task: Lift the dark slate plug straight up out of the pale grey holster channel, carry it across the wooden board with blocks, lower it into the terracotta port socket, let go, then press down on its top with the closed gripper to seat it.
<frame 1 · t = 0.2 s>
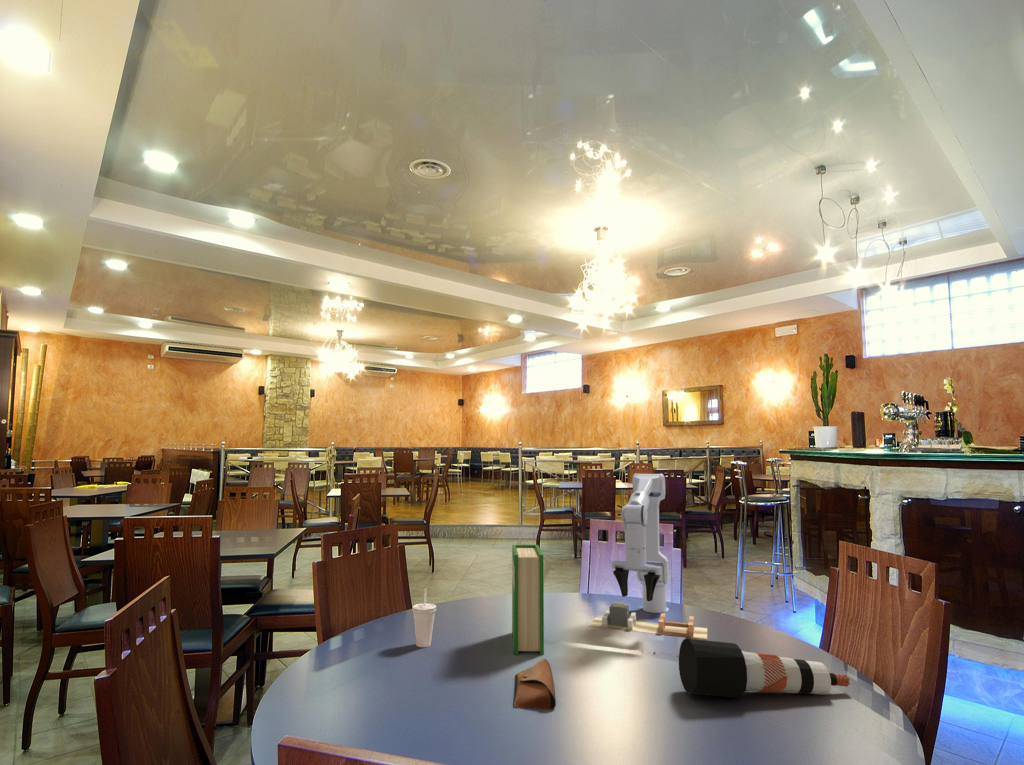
hand: (637, 598, 151), 10 cm above the table, tool pointing down, fingers open, 7 cm apart
sunglasses case: (533, 693, 113), on the table
plug: (619, 624, 157), point 1 cm above the table, touching wooden board with blocks
striped tapered cone: (768, 695, 112), on the table
hardback book: (527, 643, 143), on the table
smoothie: (423, 645, 141), on the table
wooden board with blocks: (647, 630, 154), on the table
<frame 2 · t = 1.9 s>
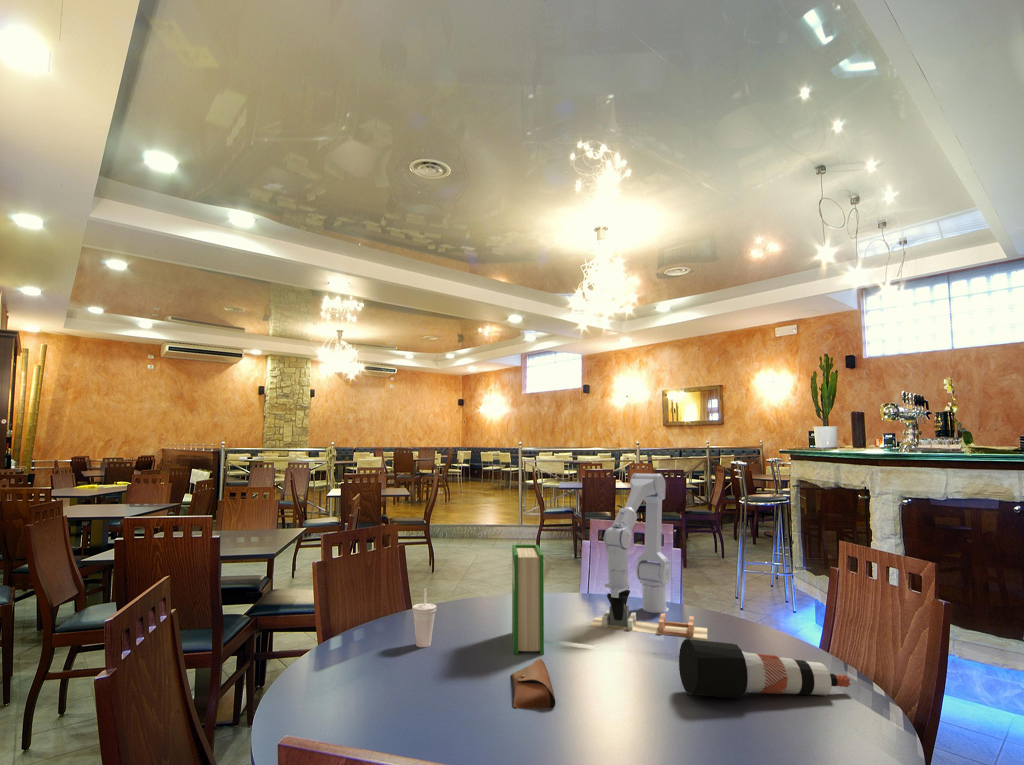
hand: (619, 618, 157), 3 cm above the table, tool pointing down, fingers closed on plug, 4 cm apart
plug: (619, 624, 157), point 1 cm above the table, touching gripper, wooden board with blocks
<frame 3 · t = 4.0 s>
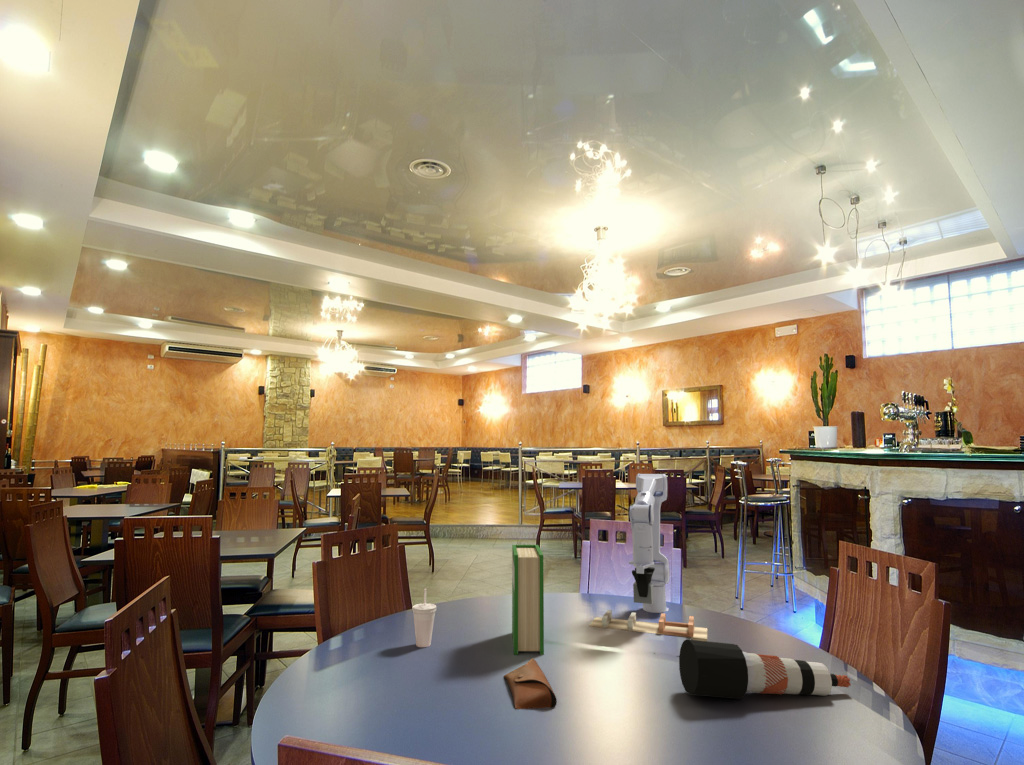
hand: (644, 595, 156), 10 cm above the table, tool pointing down, fingers closed on plug, 4 cm apart
plug: (643, 601, 155), point 8 cm above the table, touching gripper
when the fingers open (4 cm above the table, at t = 6.0 s): plug stays where it is, resting on wooden board with blocks.
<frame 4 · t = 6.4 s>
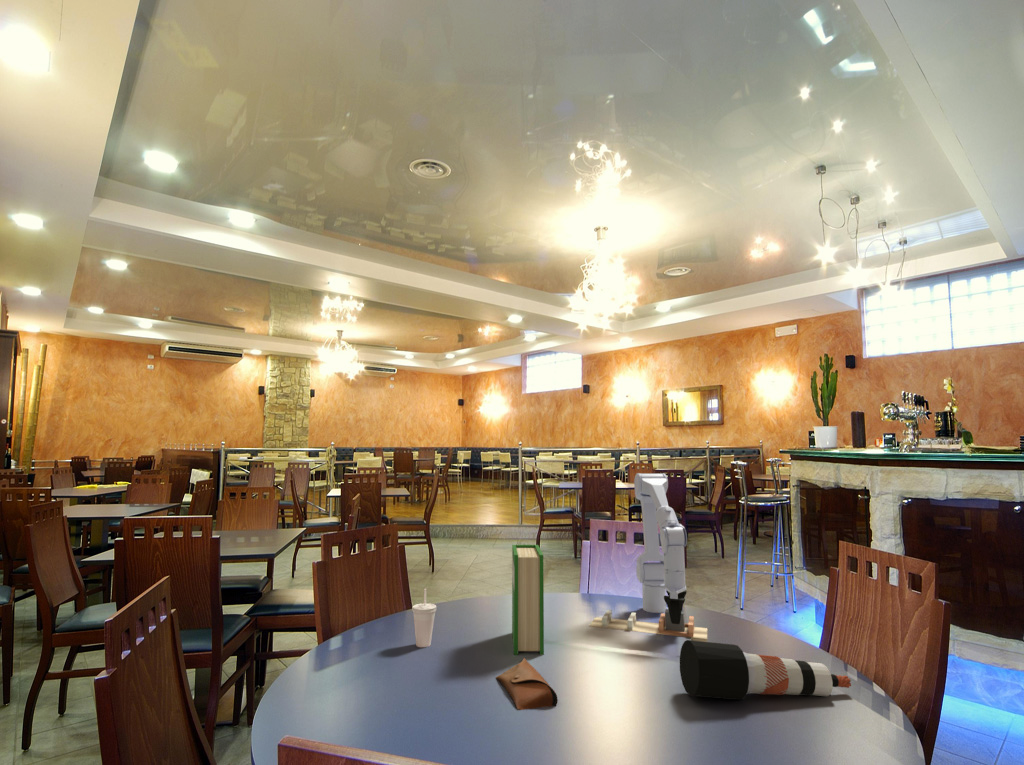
hand: (676, 620, 152), 4 cm above the table, tool pointing down, fingers open, 7 cm apart
plug: (675, 630, 151), point 1 cm above the table, touching wooden board with blocks
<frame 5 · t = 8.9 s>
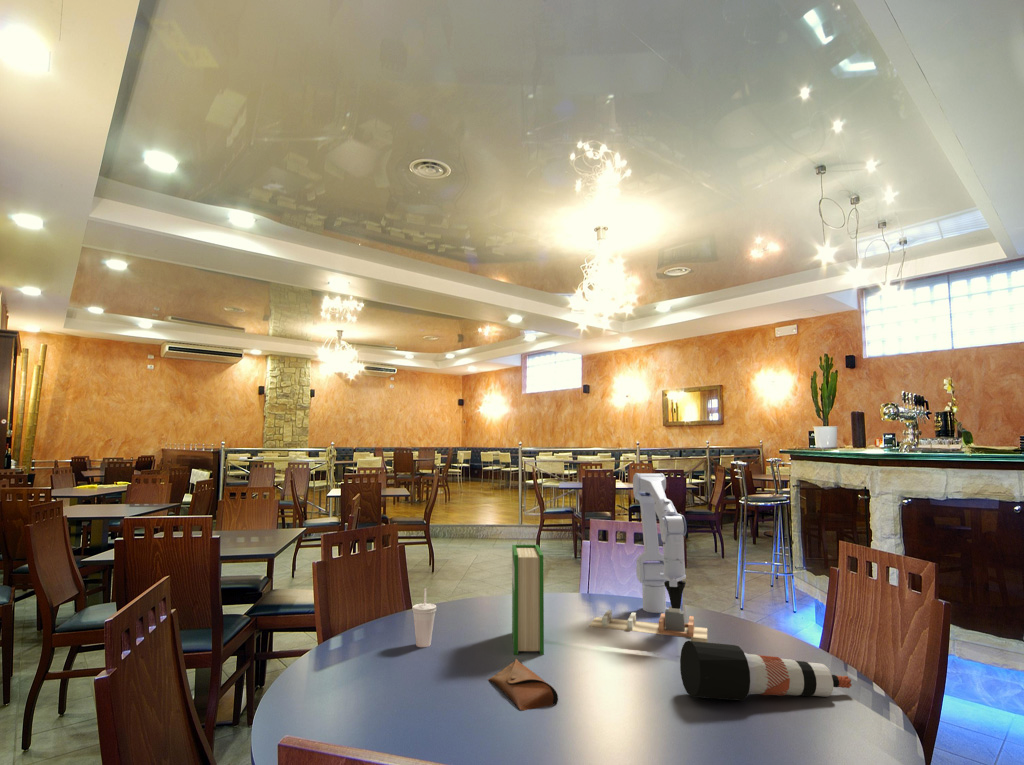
hand: (676, 608, 152), 7 cm above the table, tool pointing down, fingers closed, pressing on plug
plug: (675, 630, 151), point 1 cm above the table, touching gripper, wooden board with blocks
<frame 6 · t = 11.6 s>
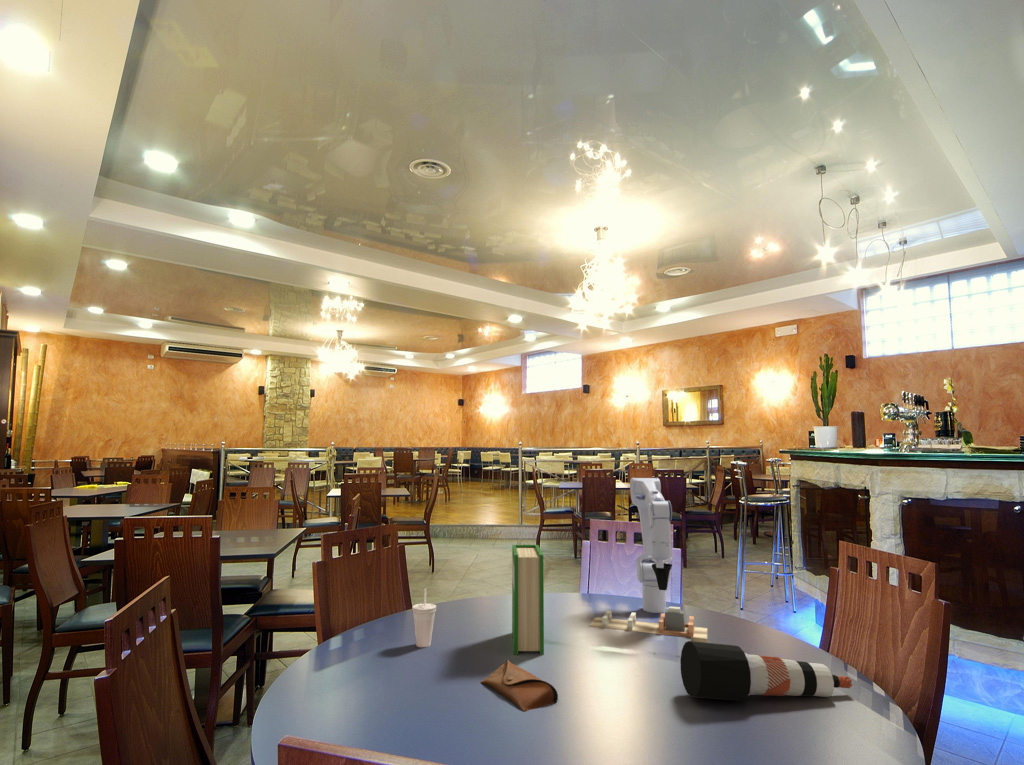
hand: (662, 589, 159), 10 cm above the table, tool pointing down, fingers closed
plug: (675, 630, 151), point 1 cm above the table, touching wooden board with blocks
at the end: plug 0.4 cm from the target spot on the wooden board with blocks, point 1.0 cm above the wooden board with blocks's base; plug tilted 0°; the gripper is holding nothing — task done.
